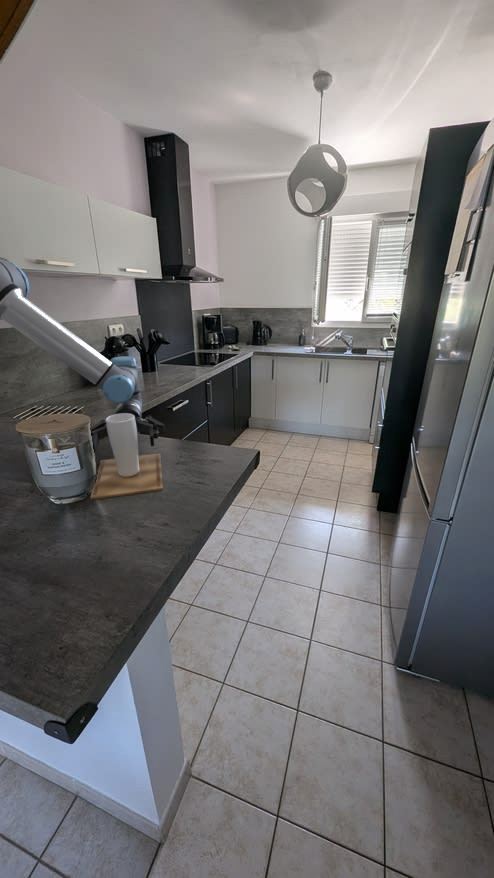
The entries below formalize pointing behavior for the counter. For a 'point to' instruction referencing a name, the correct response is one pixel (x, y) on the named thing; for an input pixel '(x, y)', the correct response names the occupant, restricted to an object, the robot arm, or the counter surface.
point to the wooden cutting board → (128, 478)
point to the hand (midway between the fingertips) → (122, 444)
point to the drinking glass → (124, 443)
